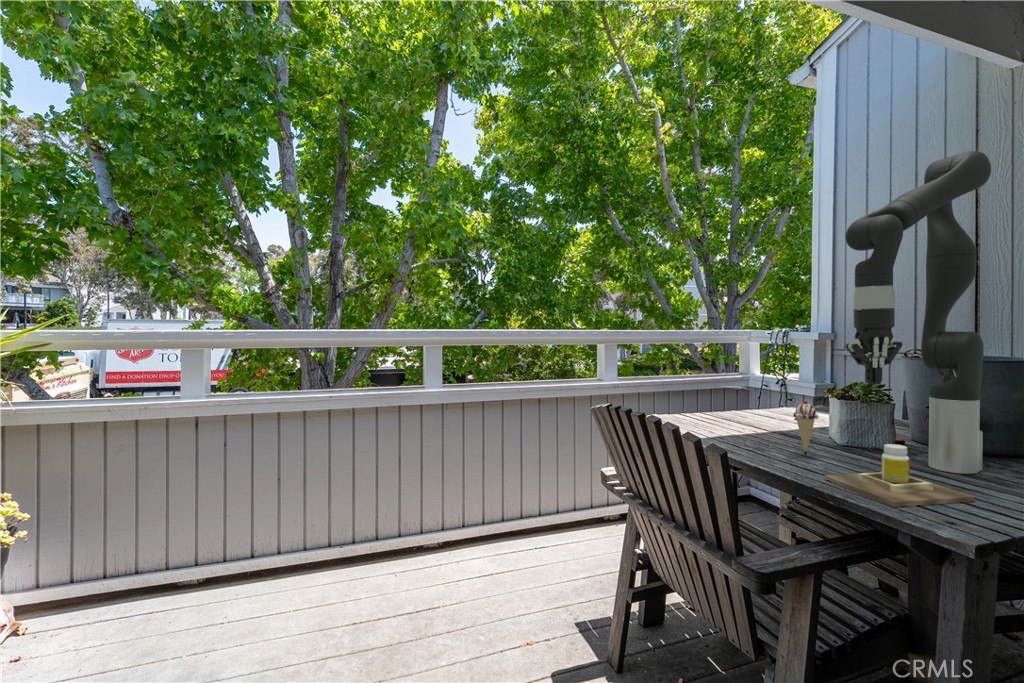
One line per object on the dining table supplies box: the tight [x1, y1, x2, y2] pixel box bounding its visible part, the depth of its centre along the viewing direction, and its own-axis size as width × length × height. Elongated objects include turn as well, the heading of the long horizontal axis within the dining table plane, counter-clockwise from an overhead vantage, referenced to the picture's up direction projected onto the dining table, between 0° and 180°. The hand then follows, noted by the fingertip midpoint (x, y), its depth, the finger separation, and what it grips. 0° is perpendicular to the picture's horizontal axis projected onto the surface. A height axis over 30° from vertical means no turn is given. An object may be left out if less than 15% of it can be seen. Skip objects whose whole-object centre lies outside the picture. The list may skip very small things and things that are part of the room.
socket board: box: [824, 471, 976, 508], centre depth 109 cm, size 18×18×2 cm
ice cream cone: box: [793, 400, 819, 457], centre depth 136 cm, size 6×6×15 cm
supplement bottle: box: [881, 443, 910, 484], centre depth 108 cm, size 5×5×8 cm
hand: (874, 384), depth 115 cm, fingers closed
